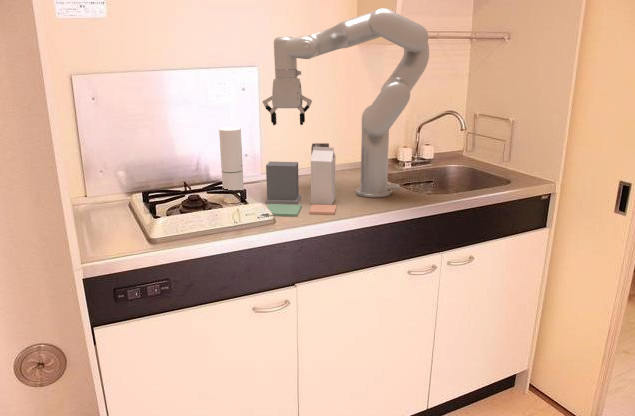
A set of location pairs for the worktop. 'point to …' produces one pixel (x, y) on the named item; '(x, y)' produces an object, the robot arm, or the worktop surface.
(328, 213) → the terracotta tile
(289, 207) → the green mat
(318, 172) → the milk carton
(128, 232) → the worktop surface
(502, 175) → the worktop surface
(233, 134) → the cylindrical container
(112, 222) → the worktop surface
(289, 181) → the wall box
